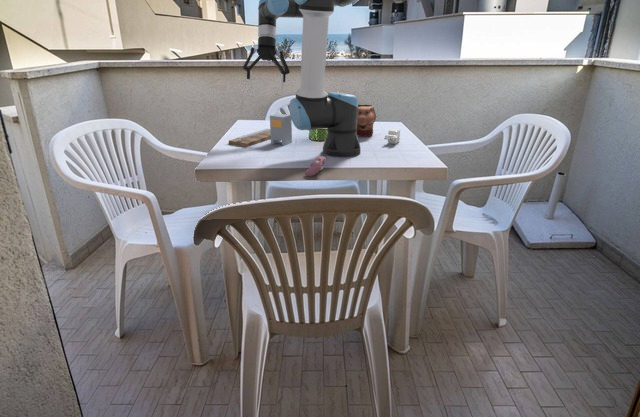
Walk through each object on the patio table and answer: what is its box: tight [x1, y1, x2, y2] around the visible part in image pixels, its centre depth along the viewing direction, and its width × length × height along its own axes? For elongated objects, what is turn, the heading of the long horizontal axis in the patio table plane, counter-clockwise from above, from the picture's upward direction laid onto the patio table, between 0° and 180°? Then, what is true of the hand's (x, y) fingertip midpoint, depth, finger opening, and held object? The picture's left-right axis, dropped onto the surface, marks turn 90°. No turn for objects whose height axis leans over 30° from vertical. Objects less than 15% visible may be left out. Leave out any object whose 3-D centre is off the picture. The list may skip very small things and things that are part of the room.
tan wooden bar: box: [236, 128, 270, 142], centre depth 185 cm, size 22×2×2 cm, turn 151°
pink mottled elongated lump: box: [304, 155, 327, 177], centre depth 140 cm, size 10×5×7 cm, turn 168°
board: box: [228, 133, 271, 148], centre depth 185 cm, size 24×10×2 cm, turn 151°
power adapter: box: [384, 128, 401, 145], centre depth 179 cm, size 11×5×6 cm, turn 152°
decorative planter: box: [357, 103, 377, 137], centre depth 195 cm, size 20×12×14 cm, turn 1°
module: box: [269, 113, 293, 146], centre depth 178 cm, size 6×7×12 cm
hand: (266, 88), depth 180 cm, fingers open, 13 cm apart
